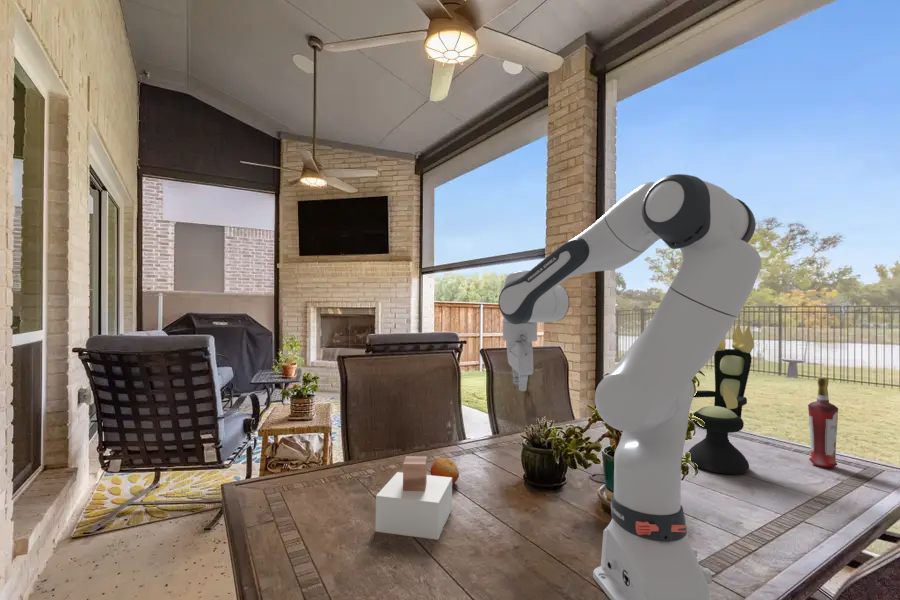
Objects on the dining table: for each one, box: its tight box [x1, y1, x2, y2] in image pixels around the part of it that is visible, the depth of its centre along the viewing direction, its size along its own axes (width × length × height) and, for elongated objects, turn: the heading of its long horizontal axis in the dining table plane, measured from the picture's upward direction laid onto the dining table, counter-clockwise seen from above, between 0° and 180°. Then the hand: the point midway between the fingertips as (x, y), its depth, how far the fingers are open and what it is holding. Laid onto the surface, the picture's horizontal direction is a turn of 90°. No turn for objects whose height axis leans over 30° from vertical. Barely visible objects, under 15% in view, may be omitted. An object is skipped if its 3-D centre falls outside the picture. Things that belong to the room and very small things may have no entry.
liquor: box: [807, 376, 839, 469], centre depth 139 cm, size 7×7×28 cm
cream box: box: [374, 471, 453, 540], centre depth 100 cm, size 14×14×8 cm
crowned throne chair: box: [687, 323, 755, 475], centre depth 139 cm, size 19×22×45 cm
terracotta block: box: [402, 455, 428, 491], centre depth 100 cm, size 5×5×6 cm
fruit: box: [429, 457, 460, 486], centre depth 120 cm, size 8×8×8 cm
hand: (519, 387), depth 113 cm, fingers open, 8 cm apart
